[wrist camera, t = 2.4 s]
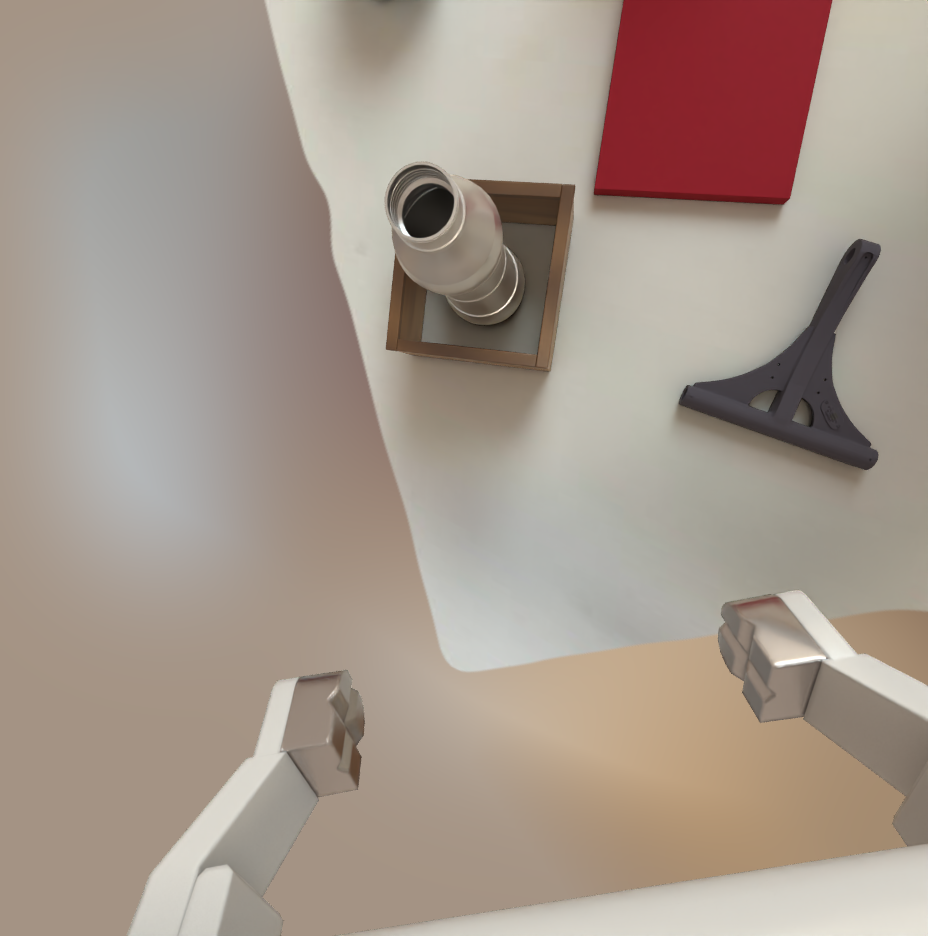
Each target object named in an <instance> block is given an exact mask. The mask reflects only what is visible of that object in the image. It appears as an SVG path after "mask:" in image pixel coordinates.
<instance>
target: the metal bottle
mask: <svg viewBox="0 0 928 936" xmlns="http://www.w3.org/2000/svg"><path fill="white" fill-rule="evenodd" d="M385 210H386V215H387V217H388V220H389V222H390V224H391V226H392V240H393V244H394V249H395V253H396V256H397V258H398V261H399V263H400V265H401V267H402V268H403V270H404V271H405V273H406V274H407V275H408V276H409V277H410V278H411V279H412V280H413V281H414V282H416V283H417V284H418V285H420V286H421V287H423V288H425V289H427V290H430V291H432V292H434V293H437V294H442V295H445V296H446V299H447V301H448V302H449V304H450V306H451V307H452V309H453V310H454V311H455V312H456V313H457V314H458V315H459V316H460V317H462V318H463V319H464V320H466V321H468V322H471V323H474V324H479V325H491V324H496V323H499V322H501V321H504V320H505V319H507V318H508V317H510V316H511V315H512V314H513V313H514V312H515V311H516V309H517V308H518V306H519V305H520V302H521V300H522V297H523V293H524V288H525V276H524V271H523V268H522V265H521V263H520V261H519V260H518V258H517V257H516V255H515V254H514V253H513V252H512V251H511V250H510V249H509V248H508V247H507V246H505V245H504V244H503V230H502V224H501V220H500V216H499V213H498V211H497V208H496V206H495V204H494V202H493V201H492V199H491V198H490V196H489V195H488V194H487V193H486V192H485V191H484V190H483V189H482V188H481V187H479V186H478V185H476V184H475V183H473V182H472V181H469V180H467V179H465V178H462V177H460V176H457V175H451V174H448V173H447V172H446V171H445V170H443V169H442V168H440V167H439V166H437V165H435V164H432V163H429V162H415V163H411V164H408V165H406V166H404V167H403V168H401V169H400V170H399V171H398V172H397V173H396V174H395V175H394V176H393V177H392V179H391V181H390V183H389V184H388V187H387V190H386V194H385Z"/></svg>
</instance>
